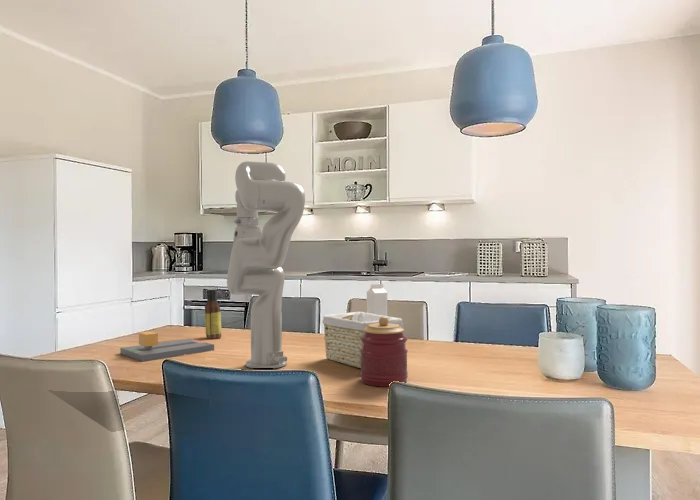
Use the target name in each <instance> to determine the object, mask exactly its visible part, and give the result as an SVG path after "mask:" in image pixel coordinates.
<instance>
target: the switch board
mask: <svg viewBox="0 0 700 500" xmlns="http://www.w3.org/2000/svg"><path fill="white" fill-rule="evenodd" d="M119 349H120V350H119V351H120V352H119V353H120V355H123V356H126V357H128V358H132V359H134V360H136V361H138V362H139V361H140V362H142V363H143V362H149V361H154V360H161V359H167V358H173V357H179V355H180V356H185V355H184V354H187V355H190V354H191V355H192V353H193V354H197V353H198V352H199V353H205V352H209V351H211V350H212V351H215V344H214V343H210V342H206V341H202V340H199V339H194V338H183V339H182V338H181V339H176V340H174V339H173V340H169V341H160V342H158V345H154V346H152V348H147V349H146V348H145V347H144V346H143V345H140V344H138V345H132V346H125V347H123V346H122V347H120V348H119Z"/></svg>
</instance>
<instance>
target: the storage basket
mask: <svg viewBox="0 0 700 500" xmlns="http://www.w3.org/2000/svg"><path fill="white" fill-rule="evenodd" d="M381 317H387V318H388V321H389V322H388V323H392V324H398V325H399V326H400V327H402V328H404V323H403V319H402V318H401V317H395V316H394V317H393V316H388V315H387V316H382V315H376V314H371V313H367V312H364V311H354V312H352V311H350V312H342V313H334V314H333V313H332V314H325V315H323V319H322V324H323V328H324V329H323V331H324V337H323V338H324V342H325V343H324V346H325V358H326V359H328V360H330V361H334V362H337V363H339V362H340V364H343V365H347V366H350V367H351V366H352V367H353V368H354V367H355V368H358V369H361V352H360V349H361V348H362V341H361V340H360V337H361V336H363V335H364V333H365V332H364V331H363V329H364V328H366V327H367V326H368V325H369V324H374V323H379V319H380V318H381Z"/></svg>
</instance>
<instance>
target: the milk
mask: <svg viewBox="0 0 700 500" xmlns="http://www.w3.org/2000/svg"><path fill="white" fill-rule="evenodd" d="M366 313H371V314H376V315H382V316H388V292H387V290H386V289H385V288H384V284H383V283H377V284H376V283H375V284H374V283H371V284H370V288H369V289H368V290H367V291H366Z"/></svg>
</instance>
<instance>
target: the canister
mask: <svg viewBox="0 0 700 500" xmlns="http://www.w3.org/2000/svg"><path fill="white" fill-rule="evenodd" d="M388 322H389V321H388V318H387V317H381V318H380V319H379V323H374V324H369V325H368V326H367V327H366V328H364V329H363V331H364V332H365V333H364V335H363V336H361V337H360V340H361V341H362V348H361V349H360V352H361V368H360V372H359V375H360V380H361V381H360V382H362V383H363V384H366V385H369V386H373V387H387V388H388V387H390V386H389V384H390V383H391V382H393V381H399V382H406V383H407V381H408V374H409V372H408V352H409V351H408V349H407V345H406V344H407V343H406V342H407V341H408V337H407V336H406V335H405V334H404V332H405V328H404V327H400V326H399V325H398V324H392V323H388Z"/></svg>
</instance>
